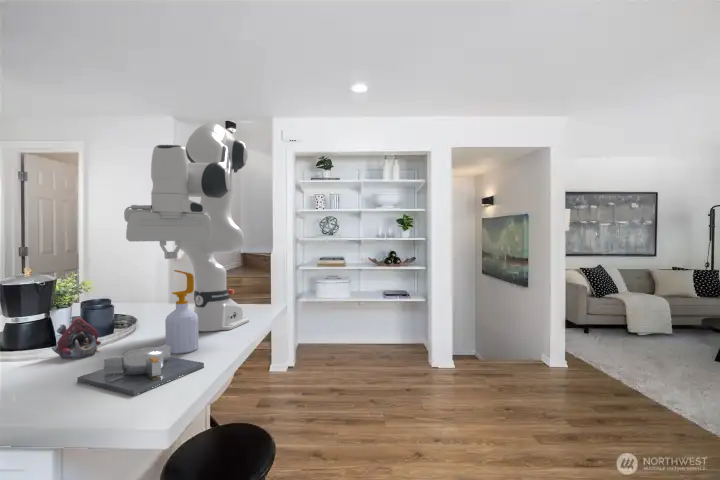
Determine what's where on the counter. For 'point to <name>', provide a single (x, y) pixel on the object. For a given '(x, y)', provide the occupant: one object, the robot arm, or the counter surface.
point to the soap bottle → (182, 322)
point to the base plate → (139, 377)
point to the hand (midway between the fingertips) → (170, 258)
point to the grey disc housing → (139, 361)
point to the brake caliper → (76, 341)
